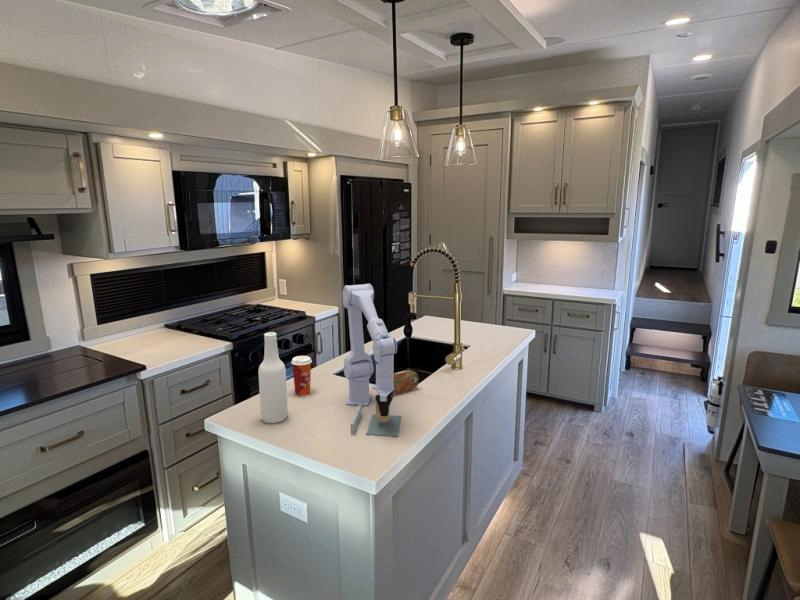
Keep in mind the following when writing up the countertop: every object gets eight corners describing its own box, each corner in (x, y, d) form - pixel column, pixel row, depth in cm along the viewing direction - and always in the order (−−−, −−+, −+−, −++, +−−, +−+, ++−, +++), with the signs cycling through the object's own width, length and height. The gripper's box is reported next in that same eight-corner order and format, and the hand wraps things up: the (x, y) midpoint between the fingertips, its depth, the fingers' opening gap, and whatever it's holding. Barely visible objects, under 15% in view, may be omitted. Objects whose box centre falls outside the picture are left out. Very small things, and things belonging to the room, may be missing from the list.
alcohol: (257, 416, 155) (252, 332, 149) (282, 410, 160) (278, 328, 154) (266, 426, 148) (261, 338, 142) (292, 419, 153) (288, 334, 147)
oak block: (377, 415, 151) (377, 398, 150) (389, 415, 151) (389, 398, 150) (376, 421, 147) (376, 403, 146) (388, 421, 147) (388, 404, 146)
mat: (372, 415, 157) (372, 414, 157) (401, 416, 156) (401, 415, 156) (366, 434, 143) (366, 434, 143) (397, 436, 142) (397, 435, 142)
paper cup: (306, 398, 170) (305, 362, 167) (288, 395, 173) (287, 360, 170) (316, 390, 177) (315, 356, 175) (299, 387, 180) (298, 354, 177)
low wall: (358, 414, 157) (358, 405, 156) (361, 414, 157) (361, 405, 156) (350, 434, 144) (350, 423, 143) (353, 434, 143) (353, 424, 143)
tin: (387, 398, 171) (387, 377, 169) (382, 395, 174) (382, 374, 172) (419, 389, 179) (419, 369, 178) (414, 386, 182) (414, 367, 180)
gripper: (374, 365, 153) (374, 403, 156) (370, 382, 139) (370, 422, 142) (395, 366, 153) (394, 403, 156) (393, 382, 139) (392, 423, 141)
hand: (384, 412), depth 149 cm, fingers closed on oak block, 4 cm apart
